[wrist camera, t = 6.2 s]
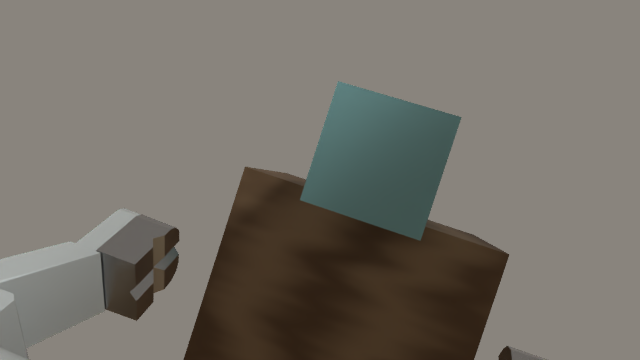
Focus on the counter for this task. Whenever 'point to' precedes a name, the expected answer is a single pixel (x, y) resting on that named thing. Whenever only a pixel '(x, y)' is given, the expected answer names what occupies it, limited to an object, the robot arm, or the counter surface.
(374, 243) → the walnut stand
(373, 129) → the teal bar
